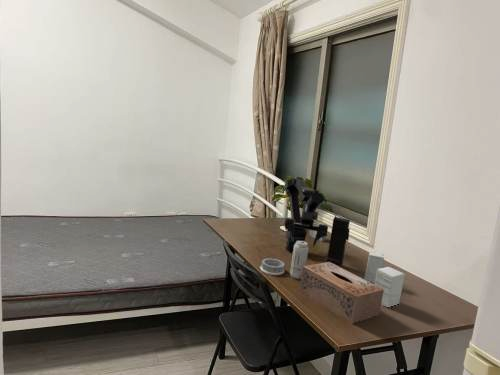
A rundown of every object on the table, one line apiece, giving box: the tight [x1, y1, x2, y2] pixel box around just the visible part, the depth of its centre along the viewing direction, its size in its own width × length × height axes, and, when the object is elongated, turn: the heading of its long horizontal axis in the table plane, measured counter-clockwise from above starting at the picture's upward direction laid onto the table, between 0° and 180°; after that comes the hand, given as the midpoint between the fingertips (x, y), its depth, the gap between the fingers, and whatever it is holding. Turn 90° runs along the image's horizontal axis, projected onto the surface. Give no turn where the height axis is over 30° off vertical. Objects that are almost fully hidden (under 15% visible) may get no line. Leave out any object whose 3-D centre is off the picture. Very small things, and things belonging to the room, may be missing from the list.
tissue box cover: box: [299, 261, 384, 324], centre depth 133 cm, size 26×14×10 cm, turn 34°
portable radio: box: [326, 215, 351, 268], centre depth 168 cm, size 8×6×25 cm
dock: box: [259, 258, 285, 276], centre depth 156 cm, size 10×10×3 cm
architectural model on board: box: [308, 223, 327, 242], centre depth 210 cm, size 11×3×10 cm, turn 31°
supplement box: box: [373, 266, 406, 308], centre depth 137 cm, size 7×7×13 cm
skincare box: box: [363, 251, 385, 284], centre depth 156 cm, size 6×4×12 cm
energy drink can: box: [289, 240, 310, 280], centre depth 151 cm, size 6×6×15 cm
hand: (302, 244), depth 156 cm, fingers open, 9 cm apart
